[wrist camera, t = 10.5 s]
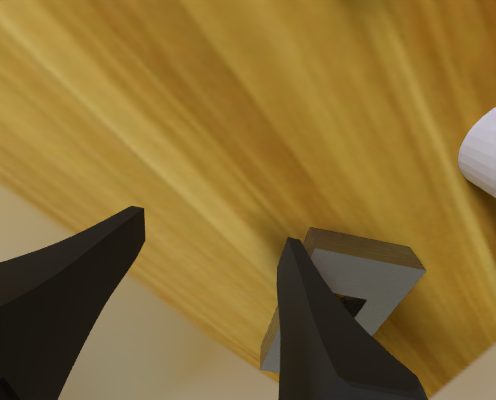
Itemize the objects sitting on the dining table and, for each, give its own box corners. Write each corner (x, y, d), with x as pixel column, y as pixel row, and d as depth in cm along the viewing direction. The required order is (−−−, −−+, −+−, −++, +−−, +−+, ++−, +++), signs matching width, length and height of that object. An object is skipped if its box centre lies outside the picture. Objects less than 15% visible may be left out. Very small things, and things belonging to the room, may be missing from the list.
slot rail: (409, 247, 24) (426, 270, 21) (328, 358, 35) (333, 382, 33) (310, 226, 24) (315, 248, 21) (260, 346, 35) (260, 369, 32)
